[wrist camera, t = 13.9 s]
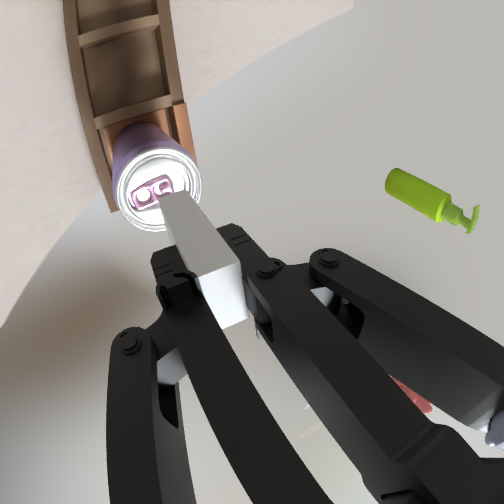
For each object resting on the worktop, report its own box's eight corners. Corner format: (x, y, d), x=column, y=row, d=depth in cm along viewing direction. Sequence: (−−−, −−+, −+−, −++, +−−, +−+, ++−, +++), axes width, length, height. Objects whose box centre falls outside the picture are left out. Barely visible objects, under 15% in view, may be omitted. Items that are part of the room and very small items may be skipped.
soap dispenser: (404, 162, 50) (484, 204, 36) (399, 191, 55) (473, 237, 40) (388, 164, 49) (474, 210, 34) (382, 196, 53) (462, 245, 38)
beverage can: (106, 132, 25) (98, 167, 14) (157, 113, 27) (193, 131, 15) (122, 180, 29) (133, 247, 18) (171, 161, 30) (214, 214, 19)
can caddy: (110, 199, 30) (111, 214, 27) (66, -18, 13) (61, -31, 9) (190, 171, 33) (201, 183, 30) (157, -40, 16) (165, -56, 13)
